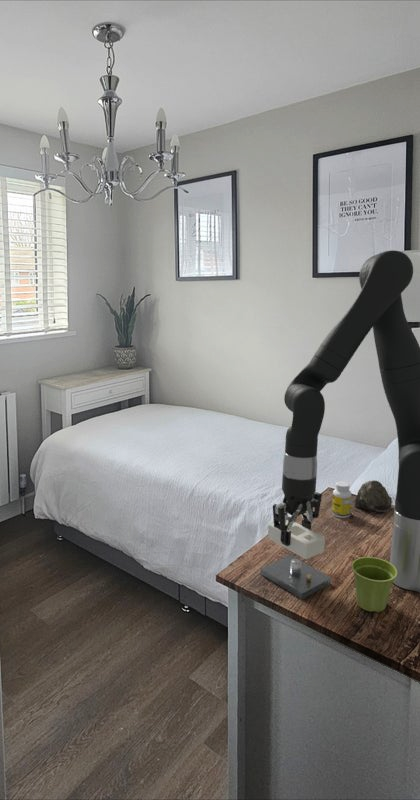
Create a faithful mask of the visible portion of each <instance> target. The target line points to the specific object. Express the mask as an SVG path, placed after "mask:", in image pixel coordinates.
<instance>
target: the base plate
mask: <svg viewBox="0 0 420 800" xmlns="http://www.w3.org/2000/svg"><path fill="white" fill-rule="evenodd" d="M260 575H262V576H263V577H264V578H267V580H269V581H271V582H273V583H274V584H276V585H277V586H279V587H281V588H283V589H284V590H286V591H287V592H288V593H291V594H292V595H294V596H295V597H297V598H299V599H300V600H304V599H305V598H308V597H310V596H311V595H313V594H315V593H317V592H319V591H320V590H322V589H324V588H326V587H327V586H330V585H331V584H332V577H331V576H329V575H328V574H326V573H324V572H322V571H320V570H318V569H316V568H314V567H313V566H311V565H309V564H307V563H305V562H303V561H302V560H300V559H299V558H296V557H294V556H292V555H291V554H289V555H287V556H284V557H282V558H280V559H279V560H278V559H277V560H276V561H274V562H272V563H269V564H267V565H265V566H264V567H263V566H262V567H261V568H260Z"/></svg>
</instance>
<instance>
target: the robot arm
mask: <svg viewBox="0 0 420 800" xmlns="http://www.w3.org/2000/svg"><path fill="white" fill-rule="evenodd" d="M413 275H414V266H413V263H412V260H411V259H410V257H409V256H408V254H406V253H404V252H402V251H399V250H393V249H391V250H385V251H383V252H380V253H377V254H375V255H373V256H370V257H369V258H367V259H366V260H365V261H364V263H363V264H362V265H361V268H360V270H359V276H358V277H359V278H358V279H359V280H358V281H359V285H360V289H361V290H360V292H359V294H358V295H357V297H356V299H355V301H354V302H353V303H352V305H351V306H350V308H348V310H347V311H346V312H345V314H344V315H343V316H342V317H341V318H340V320H339V321H338V322H337V323H336V324H335V325H334V326H333V327H332V329H331V330H330V331H329V333H328V334H327V335H326V337H324V339H323V341H322V342H321V343H320V345H319V346H318V348H317V350H316V352H314V354H313V356H312V358H311V359H310V361H309V362H308V364H307V365H306V366H305V367H303V368H302V369H301V371H300V372H298V374H297V375H296V376H295V377H294V378H293V380H292V381H290V383H289V385H288V386H287V388H286V390H285V393H284V404H285V407H286V408H287V409H288V410H289V411H290V412H291V413H292V419H291V420H292V421H291V426H289V427H288V429H287V430H286V432H285V434H286V435H285V442H284V444H285V448H284V456H283V461H282V463H283V465H282V479H281V480H282V482H281V490H282V493H283V495H284V497H283V499H282V502H281V503H279V504H277V503H274V504H273V505H272V516H273V523H274V527H275V528H277V529H279V530H281V542H282V544H284V545H286V546H289V545H290V539H291V531H290V530H291V527H292V525H293V523H295V522H296V523H297V519H298V517H299V516H301V518H302V520H301V524H300V525H302V526H304V527H306V528H308V529H310V530H312V523H313V522H314V519H318V518H319V516H320V509H321V504H322V497H323V494H321V493H320V492H317V491H316V490H317V488H316V487H317V477H318V473H317V472H318V442H319V439H318V437H319V433H320V430H321V427H322V424H323V421H324V417H325V410H326V409H325V408H326V403H325V398H324V395H323V394H322V392H321V391H323V389H324V388H325V387H326V385H328V384H330V383H334V382H336V381H337V380H338V379H339V378H340V376H341V375H342V373H343V372H344V370H345V368H346V367H347V366H348V364H349V362H351V360H352V358H353V356H354V355H355V353H356V352H357V351H358V348H359V347H360V345H361V344H362V343H363V342H364V339H365V338H366V337H367V336H368V334H369V333H370V331H371V330H372V332H373V339H374V345H375V350H376V355H377V360H378V361H377V362H378V367H379V373H380V378H381V382H382V387H383V392H384V394H385V396H386V400H387V403H388V406H389V408H390V410H391V413H392V415H393V418H394V422H395V427H396V434H397V447H398V459H397V460H398V470H397V471H398V473H397V482H396V483H397V485H396V494H395V500H394V513H393V522H392V523H393V524H392V533H391V534H392V535H391V546H390V556H389V557H390V558H389V563H391V564H392V565H394V566H395V568H396V569H397V572H398V574H397V577H396V578H395V579H394V582H393V583H392V584H394V585H396V586H397V587H399V588H402V589H404V590H409V591H415V592H418V593H420V344H419V341H418V340H417V337H416V336H415V334H414V332H413V330H412V329H411V328H412V327H410V324H409V322H408V320H407V316H406V314H405V310H404V304H403V298H402V293H403V292H404V291H405V290H406V288H408V286H409V285H410V283H411V281H412V279H413ZM313 509H314V510H313ZM289 515H290V516H289ZM287 520H288V524H287V525H286V524H285V523H286V521H287ZM279 522H280V523H279Z"/></svg>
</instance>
